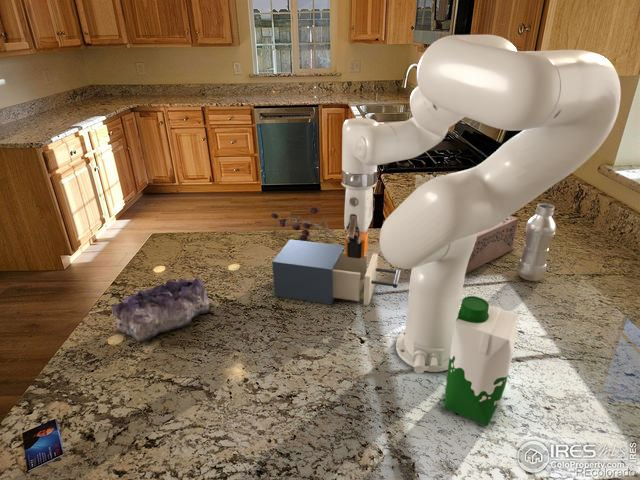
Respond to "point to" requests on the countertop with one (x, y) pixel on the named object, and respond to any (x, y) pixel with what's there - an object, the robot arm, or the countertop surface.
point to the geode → (161, 308)
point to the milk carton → (479, 359)
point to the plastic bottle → (537, 243)
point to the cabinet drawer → (358, 278)
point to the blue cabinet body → (306, 271)
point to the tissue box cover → (493, 243)
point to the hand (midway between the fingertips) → (356, 251)
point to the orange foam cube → (363, 239)
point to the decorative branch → (305, 225)
